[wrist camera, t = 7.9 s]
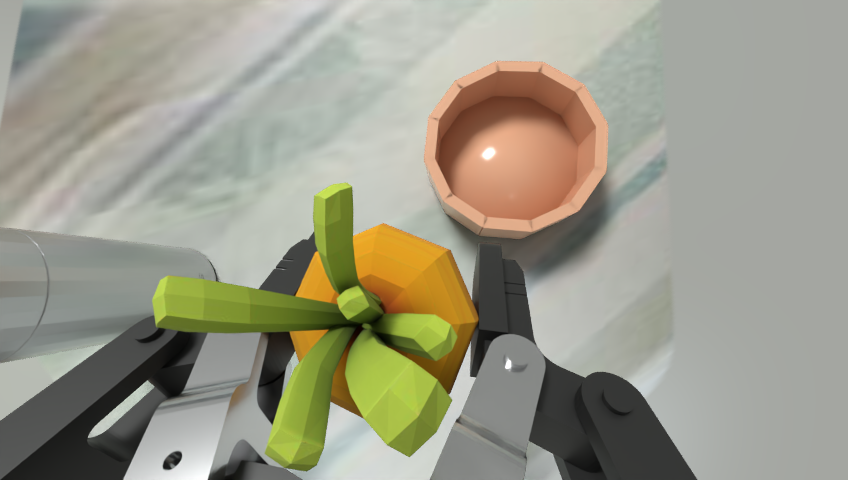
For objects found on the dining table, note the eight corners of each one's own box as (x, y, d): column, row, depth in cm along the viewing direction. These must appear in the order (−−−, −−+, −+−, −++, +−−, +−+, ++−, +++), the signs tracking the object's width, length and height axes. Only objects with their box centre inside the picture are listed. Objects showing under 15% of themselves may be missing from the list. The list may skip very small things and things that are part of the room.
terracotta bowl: (423, 230, 32) (417, 222, 27) (437, 91, 34) (434, 59, 29) (580, 244, 30) (604, 237, 26) (586, 96, 32) (610, 63, 27)
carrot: (364, 295, 18) (-34, 366, 3) (423, 237, 18) (290, 55, 3) (422, 358, 17) (238, 818, 3) (483, 297, 17) (645, 392, 3)
